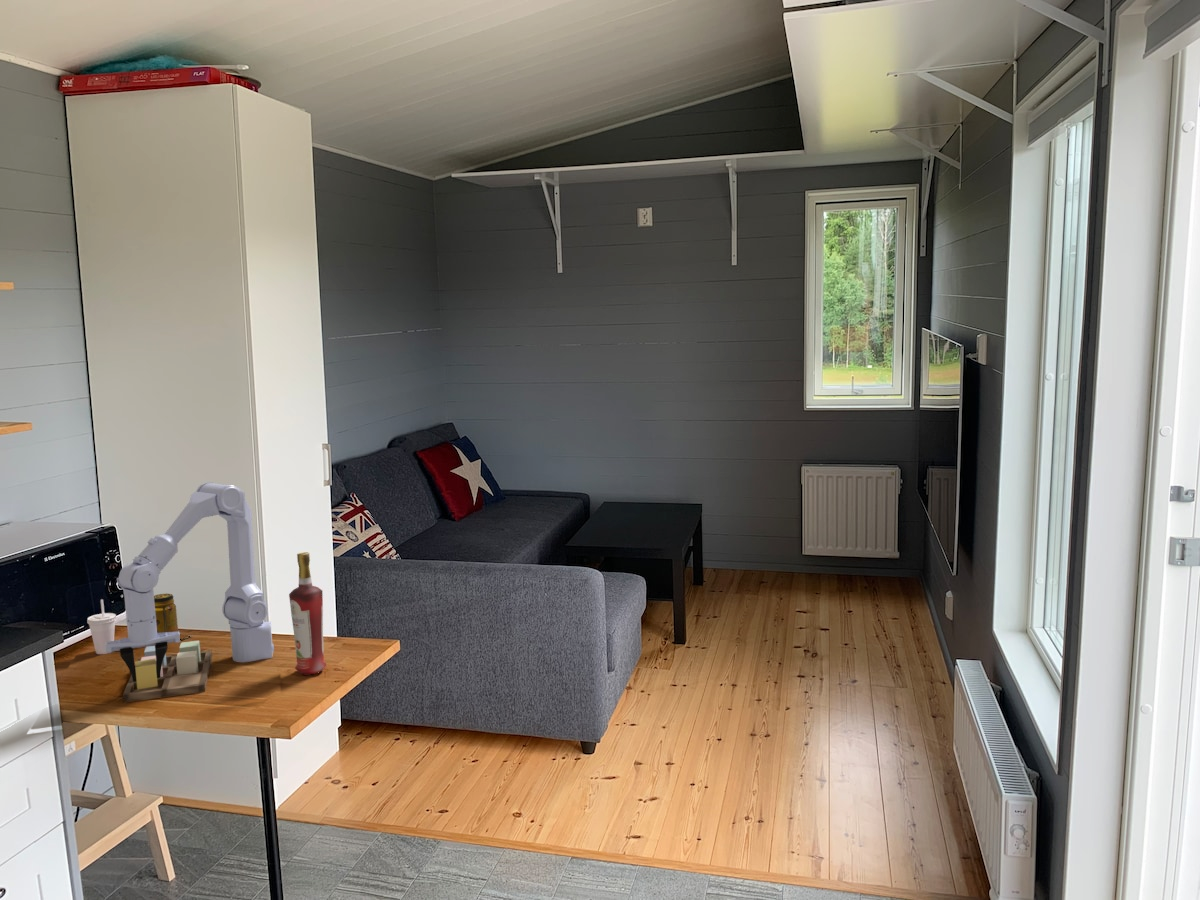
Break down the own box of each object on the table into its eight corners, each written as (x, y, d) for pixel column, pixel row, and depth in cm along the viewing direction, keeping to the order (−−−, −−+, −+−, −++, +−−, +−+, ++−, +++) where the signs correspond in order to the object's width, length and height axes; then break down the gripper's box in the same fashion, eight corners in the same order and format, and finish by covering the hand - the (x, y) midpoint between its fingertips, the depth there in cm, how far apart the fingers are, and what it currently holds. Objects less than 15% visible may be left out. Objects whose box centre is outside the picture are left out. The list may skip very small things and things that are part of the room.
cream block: (198, 671, 220) (196, 650, 219) (197, 677, 216) (195, 656, 216) (179, 673, 219) (177, 652, 218) (177, 679, 215) (176, 658, 214)
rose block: (163, 675, 218) (161, 654, 217) (161, 681, 214) (159, 660, 213) (143, 678, 216) (141, 657, 216) (141, 684, 213) (139, 662, 212)
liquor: (288, 673, 219) (279, 555, 216) (314, 663, 225) (306, 548, 222) (308, 679, 215) (299, 559, 211) (334, 669, 221) (326, 552, 217)
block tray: (212, 659, 230) (211, 650, 230) (205, 694, 208) (204, 684, 207) (138, 668, 225) (138, 659, 225) (123, 705, 203) (122, 695, 202)
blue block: (166, 664, 225) (164, 644, 224) (164, 670, 221) (163, 649, 220) (148, 667, 223) (146, 646, 223) (145, 673, 220) (144, 652, 219)
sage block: (200, 660, 227) (199, 640, 226) (199, 666, 223) (197, 645, 223) (182, 662, 226) (181, 642, 225) (181, 668, 222) (179, 647, 221)
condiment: (145, 643, 243) (141, 597, 242) (173, 633, 251) (170, 589, 249) (164, 647, 240) (160, 601, 238) (192, 637, 247) (189, 592, 246)
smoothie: (107, 659, 232) (101, 604, 230) (84, 658, 233) (78, 603, 231) (125, 650, 238) (120, 596, 236) (103, 649, 239) (97, 595, 237)
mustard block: (157, 680, 211) (155, 658, 210) (157, 686, 207) (155, 664, 207) (137, 683, 209) (135, 661, 209) (137, 689, 206) (135, 667, 205)
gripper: (177, 608, 213) (182, 666, 214) (104, 618, 206) (110, 678, 208) (178, 616, 206) (183, 676, 208) (103, 627, 200) (109, 689, 202)
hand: (146, 678), depth 208 cm, fingers closed on mustard block, 4 cm apart
